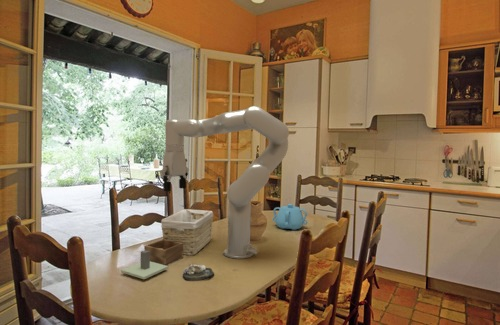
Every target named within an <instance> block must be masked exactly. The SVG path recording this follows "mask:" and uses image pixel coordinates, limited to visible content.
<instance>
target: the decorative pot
mask: <svg viewBox="0 0 500 325" xmlns="http://www.w3.org/2000/svg"><path fill="white" fill-rule="evenodd" d="M276 210H278V212H276ZM302 212H304V215H303V213H302ZM273 215H274V216H273V217H272V222H274V223H275V224H276V226H277V227H278V228H280V229H281V230H286V229H290V230H292V231H297V230H298V229H301V228H302V227H303V225H304V226H305V225H307V224H308V220H306V218H307V215H308V212H307V210H305V209H303V208H300V207H299V206H294V204H293V203H287V205H283V206H281V207H279V206H278V207H277V206H276V207H274V209H273Z"/></svg>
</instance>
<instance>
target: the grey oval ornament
mask: <svg viewBox="0 0 500 325" xmlns="http://www.w3.org/2000/svg"><path fill="white" fill-rule="evenodd" d="M182 273H183V274H182V279H183V280H184V281H186V282H187V281H188V282H197V281H200V282H201V281H206V280H210V279H212V278H213V277H214V276H215V273H214V271H213V270H212V268H210V267H206V265H204V264H202V265H201V264H199V265H197V264H190V265H189V266H186V268H184V269H183V270H182Z"/></svg>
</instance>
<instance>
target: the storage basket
mask: <svg viewBox="0 0 500 325" xmlns="http://www.w3.org/2000/svg"><path fill="white" fill-rule="evenodd" d="M192 216H195V217H196V216H198V217H200V218H198V219H195V218H192ZM213 217H214V213H213V211H212V210H206V209H205V210H204V209H190V208H189V209H187V208H184V209H181V210H179V211H177V212H175V213H172V214H170V215H168V216H165V218H162V219H161V221H160V222H161V223H160V224H161V225H160V227H161V230H162V238H163V239H165V240H170V241H174V242H179V243H183V256H184V255H187V256H194V255H196V254H197V253H198V252H200V251H201V250H202V249H203V248H205V246H206V245H208V243H209V242H211V241H212V231H213V230H212V229H213V219H214V218H213ZM163 239H162V240H163Z"/></svg>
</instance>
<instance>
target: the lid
mask: <svg viewBox="0 0 500 325" xmlns="http://www.w3.org/2000/svg"><path fill="white" fill-rule="evenodd" d="M167 269H169V265H162V264H158V263H155V262H151V261H150V251H147V250H145V251H144V250H141V251H140V262H137V263H135V264H133V265H130V266H127V267H126V268H123V269H120V272H121V273H123V274H126V275H129V276H132V277H136V278H139V279H142V280H146V279H149V278H151V277H152V276H154V275H157V274H159V273H161V272H163V271H165V270H167Z"/></svg>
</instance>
